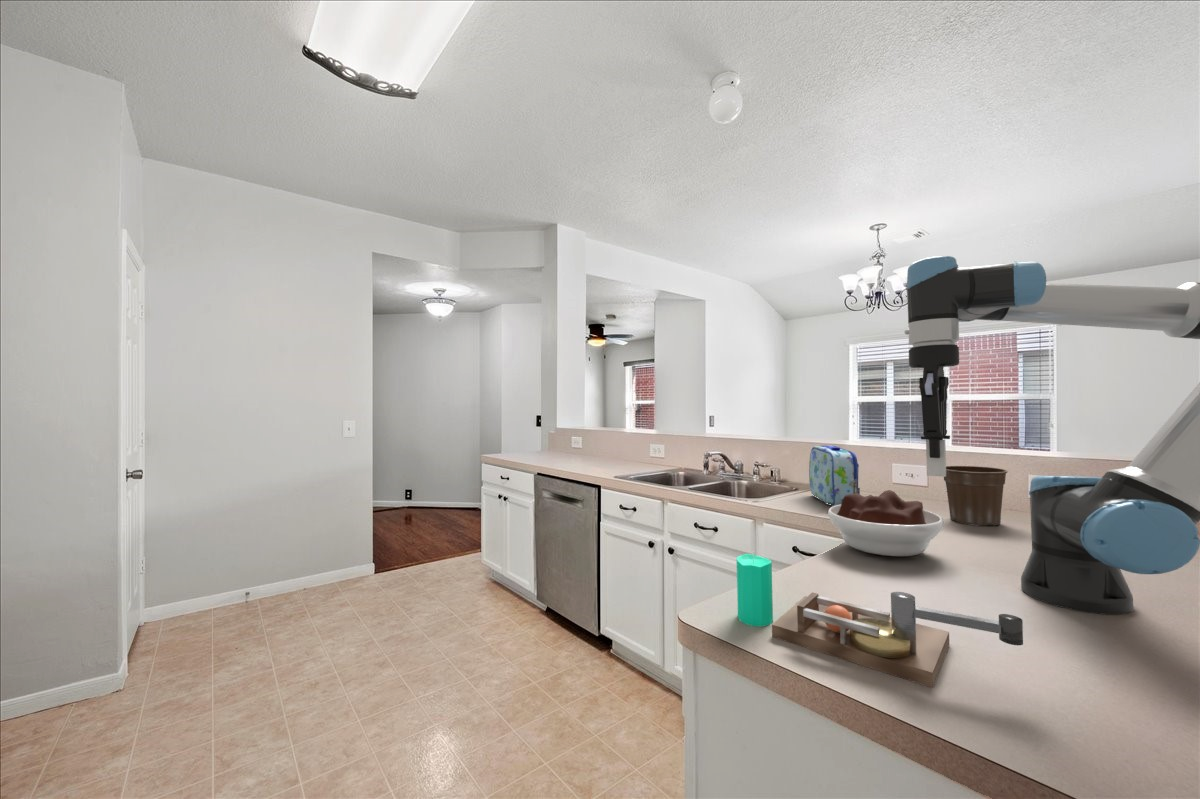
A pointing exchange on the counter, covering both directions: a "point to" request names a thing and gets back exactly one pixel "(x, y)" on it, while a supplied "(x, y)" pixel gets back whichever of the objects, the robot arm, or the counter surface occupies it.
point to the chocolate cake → (885, 524)
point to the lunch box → (833, 473)
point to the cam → (901, 630)
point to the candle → (754, 590)
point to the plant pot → (975, 494)
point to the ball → (839, 612)
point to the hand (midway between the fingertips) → (936, 475)
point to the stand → (812, 632)
